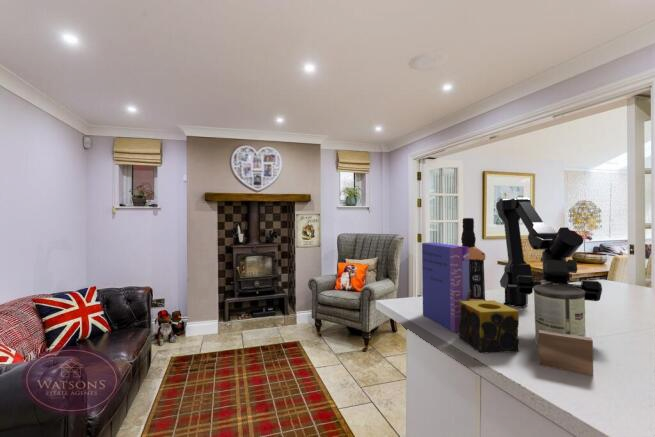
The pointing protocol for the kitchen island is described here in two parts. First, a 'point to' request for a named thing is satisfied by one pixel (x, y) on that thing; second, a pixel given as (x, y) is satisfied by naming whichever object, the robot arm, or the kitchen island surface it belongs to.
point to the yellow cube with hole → (489, 326)
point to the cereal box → (445, 283)
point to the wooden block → (566, 352)
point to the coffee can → (559, 309)
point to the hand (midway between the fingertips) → (558, 314)
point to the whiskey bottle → (474, 262)
